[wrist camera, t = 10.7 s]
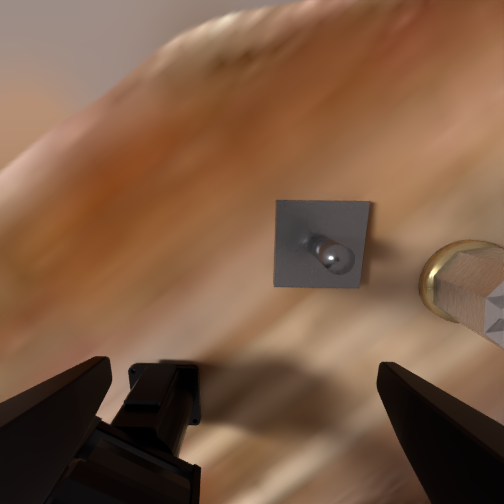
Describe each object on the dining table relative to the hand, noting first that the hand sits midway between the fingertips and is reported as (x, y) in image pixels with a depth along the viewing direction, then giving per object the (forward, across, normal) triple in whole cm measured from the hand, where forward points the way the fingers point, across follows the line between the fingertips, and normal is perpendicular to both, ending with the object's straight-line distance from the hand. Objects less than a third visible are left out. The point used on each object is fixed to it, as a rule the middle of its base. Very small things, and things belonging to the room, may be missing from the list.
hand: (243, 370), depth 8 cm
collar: (+12, -18, +1) cm, 21 cm away
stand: (+12, -6, -2) cm, 14 cm away
